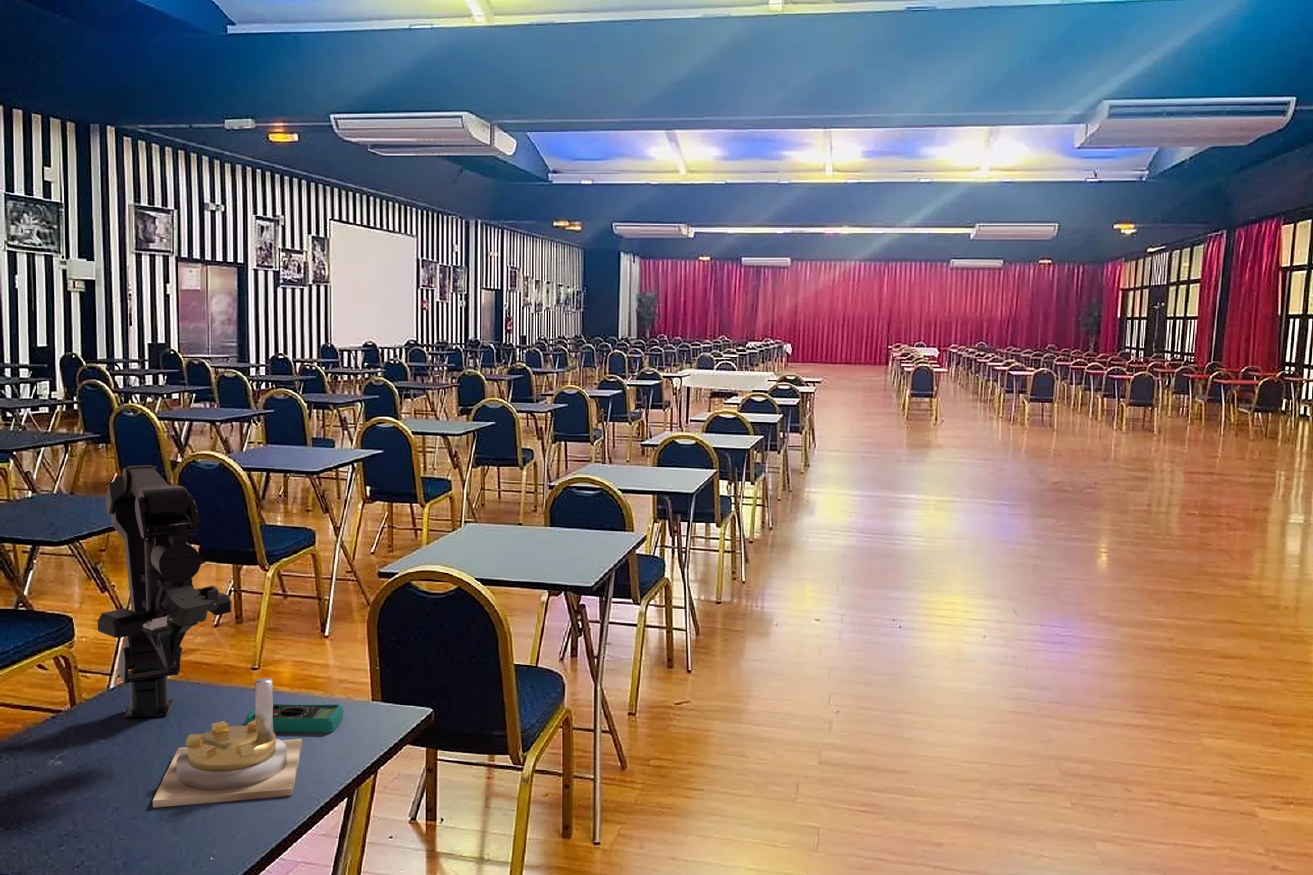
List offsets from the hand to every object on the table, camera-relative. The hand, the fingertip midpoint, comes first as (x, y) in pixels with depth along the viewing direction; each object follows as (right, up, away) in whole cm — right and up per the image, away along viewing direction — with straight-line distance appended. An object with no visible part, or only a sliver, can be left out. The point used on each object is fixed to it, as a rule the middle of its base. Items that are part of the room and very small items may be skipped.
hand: (168, 666), depth 160 cm
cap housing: (+14, -14, -9) cm, 21 cm away
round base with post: (+14, -11, -9) cm, 20 cm away
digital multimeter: (+16, -13, +10) cm, 23 cm away
